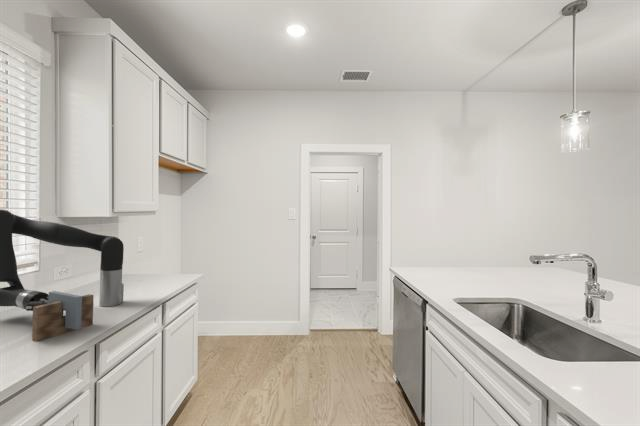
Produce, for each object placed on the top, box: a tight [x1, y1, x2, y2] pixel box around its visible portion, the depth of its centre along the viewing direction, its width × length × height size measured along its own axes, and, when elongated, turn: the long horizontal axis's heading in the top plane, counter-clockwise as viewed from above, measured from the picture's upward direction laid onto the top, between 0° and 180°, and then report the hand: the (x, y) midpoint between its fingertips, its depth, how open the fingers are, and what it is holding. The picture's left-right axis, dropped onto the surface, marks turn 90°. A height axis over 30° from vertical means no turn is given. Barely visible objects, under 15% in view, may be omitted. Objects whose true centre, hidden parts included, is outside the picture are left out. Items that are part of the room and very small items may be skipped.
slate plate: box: [48, 290, 83, 331], centre depth 127 cm, size 2×16×12 cm, turn 69°
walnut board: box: [31, 293, 95, 342], centre depth 127 cm, size 20×2×12 cm, turn 159°
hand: (61, 306), depth 128 cm, fingers closed on slate plate, 2 cm apart
